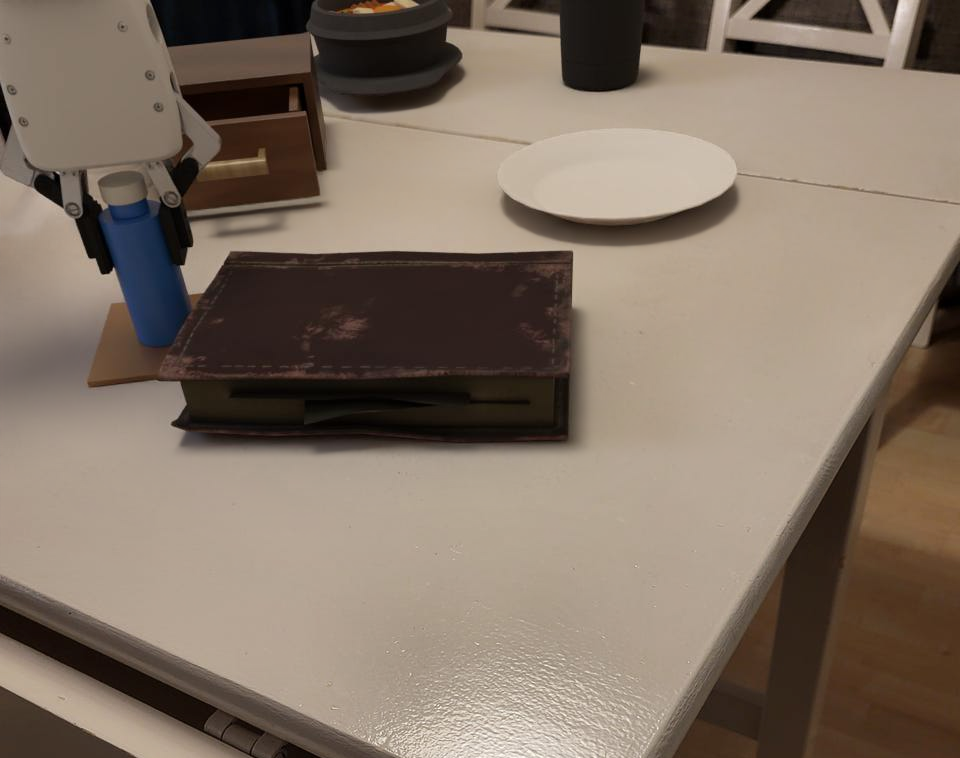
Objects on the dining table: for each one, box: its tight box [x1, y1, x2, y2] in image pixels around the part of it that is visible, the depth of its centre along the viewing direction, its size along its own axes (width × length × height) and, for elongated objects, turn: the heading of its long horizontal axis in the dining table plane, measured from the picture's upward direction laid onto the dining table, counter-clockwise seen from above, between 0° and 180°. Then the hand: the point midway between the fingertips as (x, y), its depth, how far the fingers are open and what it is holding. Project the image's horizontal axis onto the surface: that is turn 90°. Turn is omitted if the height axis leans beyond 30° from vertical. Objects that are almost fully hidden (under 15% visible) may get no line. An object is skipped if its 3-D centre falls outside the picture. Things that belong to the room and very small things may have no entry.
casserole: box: [305, 0, 463, 97], centre depth 113 cm, size 25×19×8 cm
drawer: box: [172, 83, 321, 212], centre depth 89 cm, size 17×14×7 cm
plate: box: [496, 127, 739, 227], centre depth 86 cm, size 21×21×2 cm
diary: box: [156, 250, 574, 443], centre depth 65 cm, size 19×25×5 cm
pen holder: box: [558, 0, 646, 92], centre depth 107 cm, size 9×9×10 cm
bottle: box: [98, 171, 193, 347], centre depth 68 cm, size 4×4×11 cm
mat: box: [86, 292, 204, 388], centre depth 72 cm, size 10×12×1 cm
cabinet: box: [167, 32, 328, 172], centre depth 97 cm, size 14×15×9 cm
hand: (144, 259), depth 68 cm, fingers closed on bottle, 4 cm apart
